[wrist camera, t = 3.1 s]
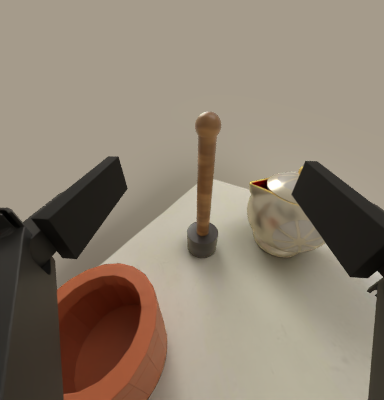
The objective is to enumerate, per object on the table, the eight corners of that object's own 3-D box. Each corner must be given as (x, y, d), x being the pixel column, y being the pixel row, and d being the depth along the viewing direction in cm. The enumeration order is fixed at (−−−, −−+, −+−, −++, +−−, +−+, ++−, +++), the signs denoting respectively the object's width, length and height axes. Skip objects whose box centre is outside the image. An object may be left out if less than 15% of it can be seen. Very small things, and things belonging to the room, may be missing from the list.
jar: (62, 344, 20) (8, 313, 14) (142, 286, 26) (127, 247, 20) (85, 470, 14) (3, 509, 8) (184, 357, 20) (181, 329, 14)
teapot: (236, 262, 29) (259, 184, 20) (237, 213, 40) (252, 146, 30) (352, 285, 26) (449, 204, 16) (319, 225, 37) (366, 154, 27)
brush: (181, 244, 33) (173, 111, 19) (202, 230, 36) (208, 106, 21) (201, 263, 29) (209, 118, 15) (222, 246, 32) (245, 112, 18)
